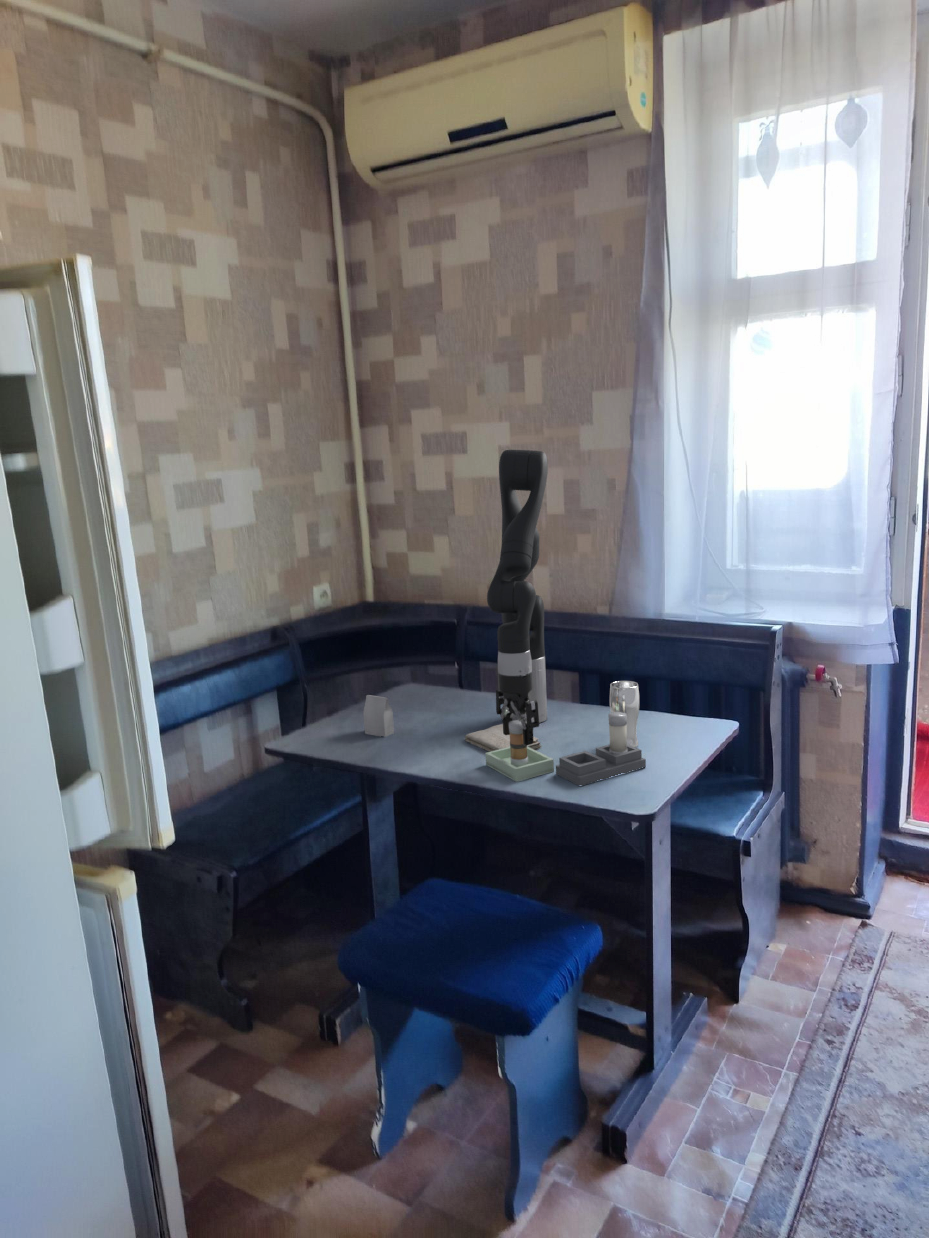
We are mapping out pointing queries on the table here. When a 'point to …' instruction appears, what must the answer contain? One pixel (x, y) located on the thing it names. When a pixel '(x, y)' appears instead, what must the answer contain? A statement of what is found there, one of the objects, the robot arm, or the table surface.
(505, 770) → the parts tray
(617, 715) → the fuse
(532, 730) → the robot arm
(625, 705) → the beer glass
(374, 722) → the tea bag
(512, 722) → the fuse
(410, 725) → the table surface
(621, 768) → the fuse block
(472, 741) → the washcloth
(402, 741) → the table surface
